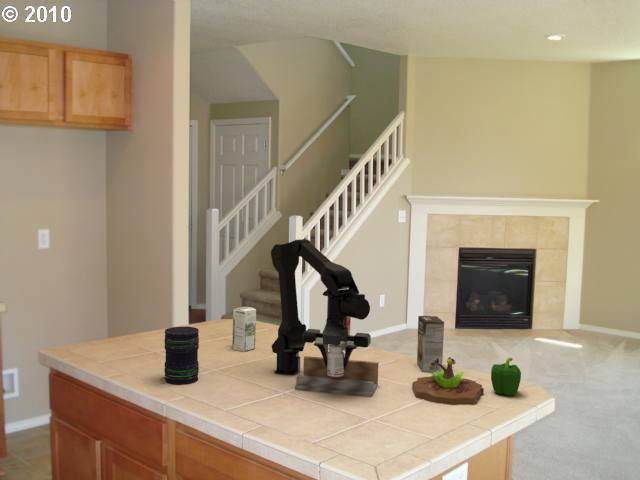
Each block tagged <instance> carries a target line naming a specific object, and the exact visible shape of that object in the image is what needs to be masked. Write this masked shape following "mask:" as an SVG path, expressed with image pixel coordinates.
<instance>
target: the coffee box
mask: <svg viewBox="0 0 640 480" xmlns="http://www.w3.org/2000/svg"><path fill="white" fill-rule="evenodd" d="M444 335H445V321H444V320H442V319H441V318H439V317H438V316H437V315H418V321H417V349H416V350H417V351H416V354H417V355H416V356H417V357H416V364H417V366H418V367H419V369H421V371H422V372H423V373H427V372H428V373H430V372H431V373H437V372H436V371H439V372H441V370H442V368H441V367H440V366H439V365H436V364H434V366H433V367H432V368H431V367H430V366H429V364H430V363H432V362H437V363H440V364H441V365H443V357H444V356H443V355H444Z"/></svg>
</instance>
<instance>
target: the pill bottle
mask: <svg viewBox="0 0 640 480" xmlns="http://www.w3.org/2000/svg"><path fill="white" fill-rule="evenodd" d="M344 358H345V351H344V350H343V345H337V346H335V345H331V344H328V361H327V374H328V375H329V376H332V377H340V376H343V375H344Z"/></svg>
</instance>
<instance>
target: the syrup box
mask: <svg viewBox="0 0 640 480" xmlns="http://www.w3.org/2000/svg"><path fill="white" fill-rule="evenodd" d="M256 323H257V309H256V308H254V307H252V306H251V307H250V306H243V307H242V306H241V307H237V308H233V314H232V350H233V351H237V352H238V351H239V352H243V353H245V352H249V351H252V350H255V349H256V330H257V328H256V326H257V325H256Z"/></svg>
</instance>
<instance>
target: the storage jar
mask: <svg viewBox="0 0 640 480" xmlns="http://www.w3.org/2000/svg"><path fill="white" fill-rule="evenodd" d="M199 332H200V331H199V328H197V327H193V326H173V327H167V328H165V330H164V342H163V343H164V350H165V362H164V365H163V366H164V369H163V371H164V377H165V378H164V382H165V383H166V384H169V385H174V386H186V385H191V384H196V383H197V382H198V381H199V371H200V369H199V368H200V367H199V364H200V363H199V361H198V356H199V355H198V354H199V352H198V350H199V345H200V338H199Z"/></svg>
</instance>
